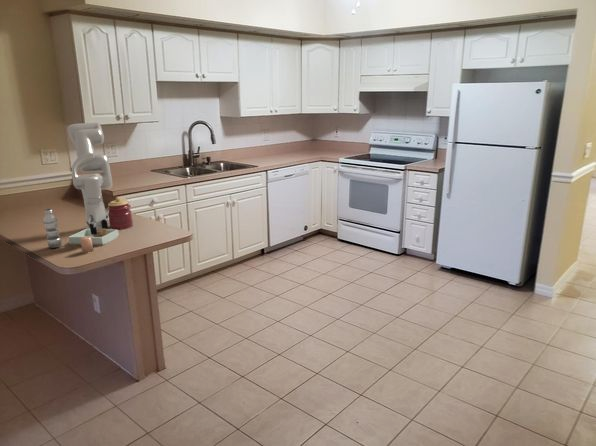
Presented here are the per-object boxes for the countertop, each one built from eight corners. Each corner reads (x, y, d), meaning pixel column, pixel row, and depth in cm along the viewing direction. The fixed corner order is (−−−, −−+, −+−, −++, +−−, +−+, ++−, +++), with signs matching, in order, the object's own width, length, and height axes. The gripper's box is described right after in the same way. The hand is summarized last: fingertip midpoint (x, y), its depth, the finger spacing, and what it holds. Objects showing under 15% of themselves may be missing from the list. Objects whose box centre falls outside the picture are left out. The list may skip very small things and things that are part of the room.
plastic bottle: (64, 244, 242) (57, 207, 236) (58, 249, 235) (51, 211, 230) (52, 245, 241) (45, 208, 236) (45, 249, 235) (38, 211, 229)
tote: (87, 235, 256) (85, 228, 255) (118, 236, 252) (117, 229, 251) (69, 244, 242) (68, 237, 241) (102, 245, 238) (101, 237, 237)
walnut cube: (99, 237, 249) (98, 228, 248) (108, 237, 248) (106, 228, 247) (94, 240, 244) (92, 231, 243) (102, 240, 243) (101, 231, 242)
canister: (125, 230, 264) (121, 200, 259) (105, 229, 267) (100, 199, 262) (137, 223, 277) (133, 195, 272) (118, 223, 279) (113, 194, 274)
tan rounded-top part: (86, 249, 233) (84, 236, 231) (95, 250, 232) (93, 236, 230) (80, 253, 228) (77, 239, 226) (89, 253, 227) (87, 239, 225)
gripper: (98, 196, 249) (103, 226, 254) (77, 204, 233) (83, 236, 238) (110, 196, 248) (115, 226, 253) (90, 204, 232) (96, 236, 237)
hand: (99, 231), depth 246 cm, fingers open, 9 cm apart
